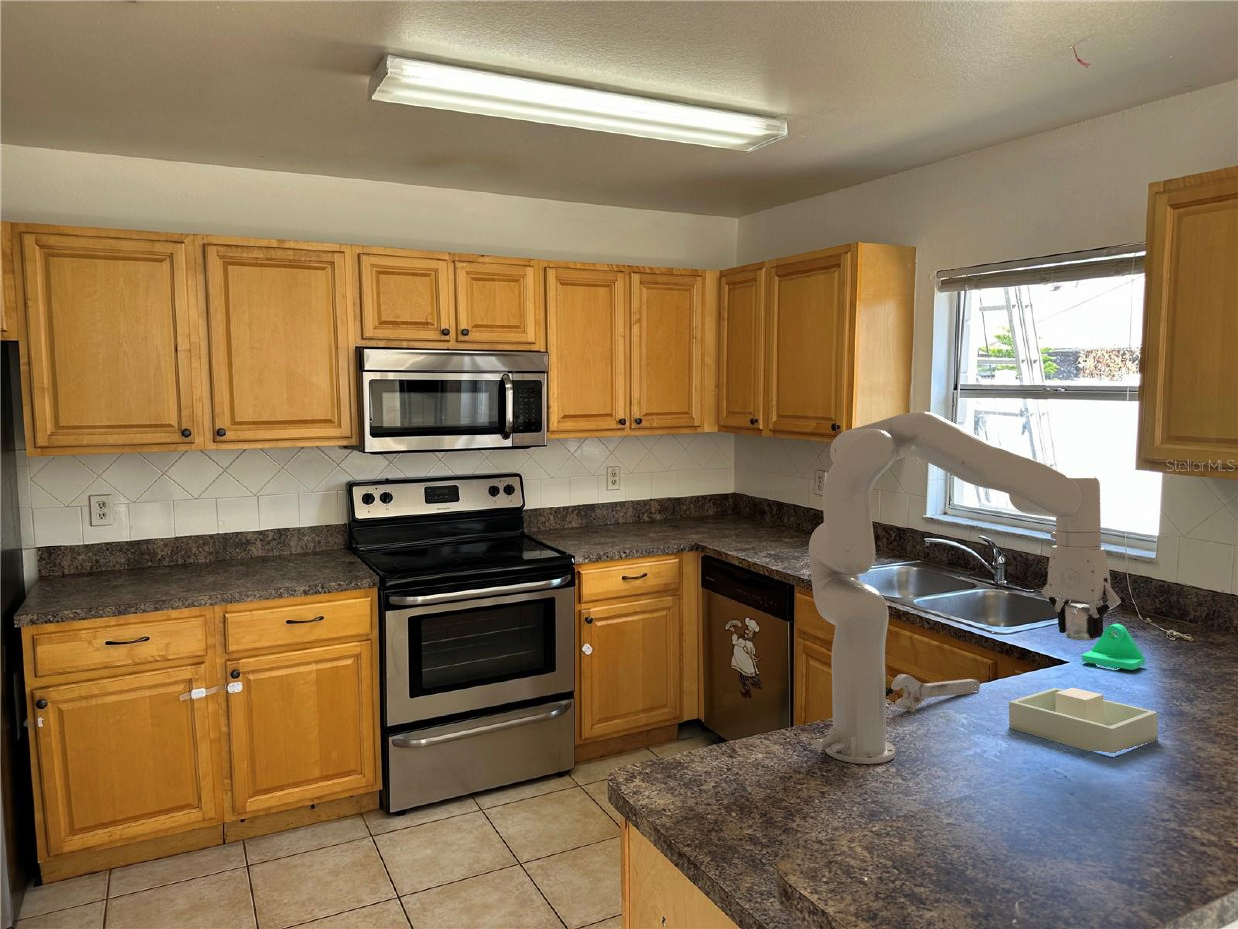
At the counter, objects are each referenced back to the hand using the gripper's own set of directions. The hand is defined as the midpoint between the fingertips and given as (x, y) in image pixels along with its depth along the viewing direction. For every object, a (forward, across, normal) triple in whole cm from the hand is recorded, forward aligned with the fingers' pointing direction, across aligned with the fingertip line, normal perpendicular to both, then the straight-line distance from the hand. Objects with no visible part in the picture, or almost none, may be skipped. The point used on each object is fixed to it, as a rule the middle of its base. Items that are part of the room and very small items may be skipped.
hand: (1080, 633), depth 162 cm
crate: (+20, -1, +2) cm, 20 cm away
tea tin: (+1, 0, 0) cm, 1 cm away
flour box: (+19, -1, +1) cm, 19 cm away
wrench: (+20, -30, -4) cm, 36 cm away
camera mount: (+21, -24, +55) cm, 64 cm away
